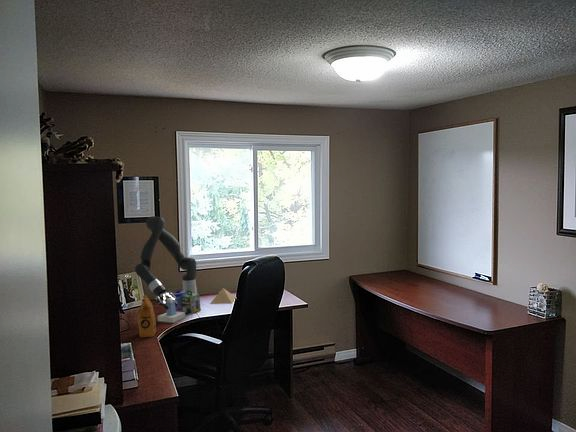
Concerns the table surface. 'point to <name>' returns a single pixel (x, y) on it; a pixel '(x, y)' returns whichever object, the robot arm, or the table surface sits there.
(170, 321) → the port block
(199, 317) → the table surface
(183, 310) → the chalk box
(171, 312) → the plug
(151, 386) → the table surface
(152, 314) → the coffee package
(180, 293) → the ink cartridge box
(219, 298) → the model pyramid
